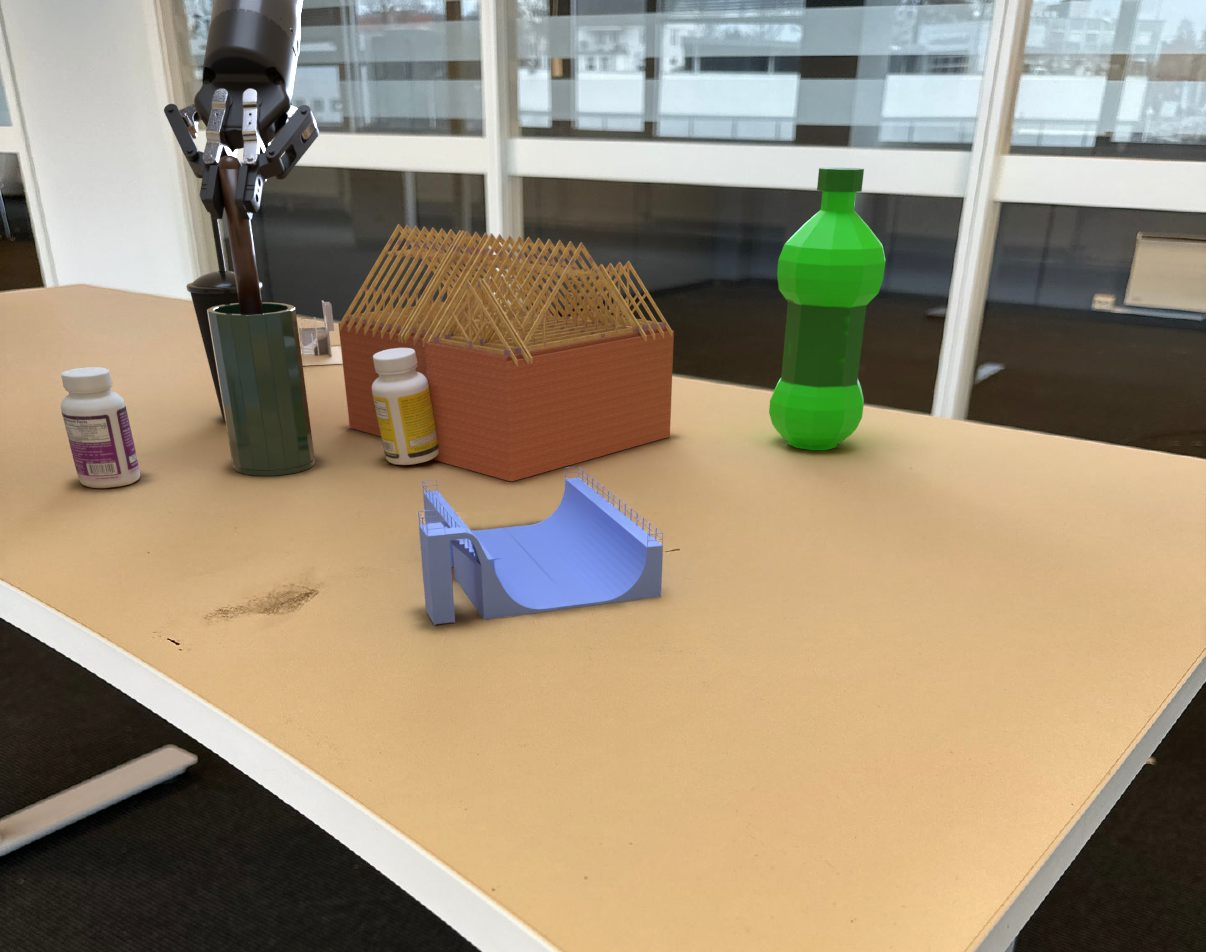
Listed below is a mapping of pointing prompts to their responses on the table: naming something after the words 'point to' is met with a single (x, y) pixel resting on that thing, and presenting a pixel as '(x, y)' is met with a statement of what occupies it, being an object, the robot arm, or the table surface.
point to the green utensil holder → (262, 388)
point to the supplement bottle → (403, 408)
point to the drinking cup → (213, 302)
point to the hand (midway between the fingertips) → (228, 211)
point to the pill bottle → (98, 429)
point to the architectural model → (319, 341)
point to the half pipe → (539, 558)
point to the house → (514, 353)
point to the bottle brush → (240, 240)
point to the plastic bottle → (826, 316)
